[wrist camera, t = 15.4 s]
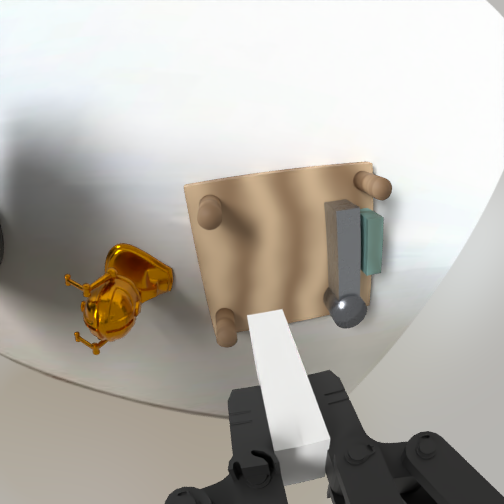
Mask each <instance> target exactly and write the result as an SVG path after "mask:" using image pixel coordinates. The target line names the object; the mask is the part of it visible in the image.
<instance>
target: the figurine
mask: <svg viewBox="0 0 504 504" xmlns="http://www.w3.org/2000/svg"><path fill="white" fill-rule="evenodd" d="M70 278H71V276H70V274H66V275H65V281H66V282H65V284H66V285H67V286H70V285H73V286H74V287H76V288H78V289H80V290H81V291H83V296H84V297H87V299H86V301H82V303H81V311H82V312H83V318H84V322H85V324H86V326H87V327H88V328H89V330H90V332H91V333H92V334H93V335H94V336H96V337H97V338H98V339H99V340H101V341H100V342H99V343H92V344H91V343H89V342H88V341H86V340H85V339H83V338H82V337H81V336H80V333H79V332H75V333H74V335H75V340H76V342H82V343H83V344H85V345H86V346H88V347H89V348H91V349H92V350H93V354H95V355H98V354H99V353H100V350H99V348H101V347H102V346H103V345H104V344H106V343H107V342H108V341H109V342H113V341H115V340H117V339H121V338H123V337H124V336H126V335H127V334H128V333H129V331H130V330H131V329H132V327H133V326H134V324H135V321H136V316H137V315H138V314H139V313H140V312H141V305H142V303H144V302H145V301H147V300H149V299H152V298H154V297H156V296H158V295H161V294H163V293H166V292H168V291H171V289H172V285H173V271H172V268H170V267H169V266H167V265H165V264H164V263H162V262H160V261H159V260H157V259H156V258H154V257H153V256H151V255H149V254H148V253H146V252H144V251H143V250H141V249H139V248H137V247H135V246H132V245H130V244H125V243H120V244H117V245H115V246H113V247H112V248H111V250H110V251H109V253H108V255H107V258H106V263H105V273H104V275H103V276H101V277H99V278H98V279H97V280H96V281H94V282H93V283H92V284H88V283H85V284H83V285H81V284H79V283H77V282H75V281H73V280H72V279H70Z"/></svg>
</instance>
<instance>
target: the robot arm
mask: <svg viewBox="0 0 504 504" xmlns="http://www.w3.org/2000/svg"><path fill="white" fill-rule="evenodd" d="M2 256H3V236H2V230H1V226H0V264H1V261H2ZM247 319H248V325H249V331H250V337H251V343H252V349H253V355H254V360H255V366H256V371H257V376H258V381H259V386H254V387H248V388H242V389H235V390H232V392H231V395H230V397H229V399H228V411H229V421H230V431H231V441H232V450H233V457H232V458H231V460H230V461H229V466H228V471H229V475H228V476H227V477H226V478H224V479H223V480H222V481H220V482H218V483H216V484H214V485H211V486H208V487H205V488H202V489H198V488H195V487H182V488H179V489H176V490H175V491H173V492H172V493H171V494H169V496H168V498H167V500H166V501H165V504H288V502H287V497H286V493H285V489H284V486H286V485H291V484H296V483H301V482H305V481H309V480H314V479H317V478H322V477H324V476H325V473H326V475H327V478H328V481H329V486H328V491H327V498H330V497H331V499H332V502H333V504H504V497H503V496H502V495H501V494H500V493H499V492H498V491H497V490H496V489H495V488H494V487H493V486H492V485H491V484H490V483H489V482H488V481H487V480H486V479H485V478H483V476H481V475H480V474H479V473H478V472H477V471H476V470H475V469H474V468H473V467H472V466H471V465H470V464H469V463H468V462H467V461H466V460H465V459H464V458H463V457H462V456H461V455H460V454H459V453H458V452H457V451H455V449H454V448H452V447H451V446H450V445H449V444H448V443H447V442H446V441H445V440H444V439H443V438H442V437H441V436H439V435H438V434H436V433H433V432H429V431H427V432H420V433H418V434H416V435H414V436H413V437H412V438H411V439H410V440H409V441H408V442H400V443H380V442H377V441H375V440H373V439H371V438H370V437H369V436H368V435H366V433H365V431H364V430H363V427H362V425H361V423H360V421H359V419H358V417H357V414H356V412H355V410H354V408H353V406H352V404H351V401H350V400H349V397H348V395H347V393H346V391H345V389H344V387H343V384H342V382H341V380H340V378H339V377H337V376H336V375H335V374H334V373H333V372H331V371H330V370H327V371H323V372H319V373H315V374H311V375H307V374H306V371H305V369H304V366H303V363H302V360H301V358H300V355H299V352H298V350H297V347H296V344H295V342H294V339H293V336H292V334H291V331H290V328H289V326H288V323H287V320H286V318H285V315H284V312H283V310H282V309H280V310H275V311H269V312H264V313H258V314H252V315H247Z"/></svg>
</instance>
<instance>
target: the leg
mask: <svg viewBox="0 0 504 504" xmlns="http://www.w3.org/2000/svg"><path fill="white" fill-rule="evenodd" d="M324 208H325V222H326V239H327V259H328V286H329V287H328V288H327V290H326V291H325V293H324V296H323V302H324V304H325V306H326V308H327V309H328V311H329V313H330V315H331V316H332V318H333V320H334V321H335V323H336V325H337V326H339V327H341V328H351V327H354V326H356V325H357V324H359V323H360V322H361V321H362V320H363V319H364V317H365V315H366V312H367V306H366V303H365V302H364V301H363V299H362V298H361V297H360V271H361V230H360V207H358V206H357V205H355V204H353V203H352V202H350V201H348V200H347V199H344V200H337V201H330V202H324Z"/></svg>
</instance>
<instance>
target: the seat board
mask: <svg viewBox="0 0 504 504" xmlns="http://www.w3.org/2000/svg"><path fill="white" fill-rule="evenodd" d="M184 192H185V197H186V202H187V208H188V213H189V218H190V223H191V228H192V233H193V238H194V243H195V248H196V253H197V258H198V262H199V267H200V272H201V276H202V281H203V285H204V290H205V294H206V298H207V303H208V307H209V311H210V315H211V320H212V324H213V328H214V332H215V336H216V340H217V343H218V344H219V345H220V346H222V347H232V346H233V345H235V344H236V342H237V333H236V332H242V331H248V330H249V325H248V319H247V315H252V314H258V313H264V312H269V311H275V310H280V309H282V310H283V312H284V315H285V318H286V320H287V323H292V322H297V321H302V320H307V319H312V318H316V317H321V316H326V315H330V313H329V311H328V309H327V308H326V306H325V304H324V302H323V296H324V293H325V291H326V290H327V288H328V287H329V286H328V259H327V239H326V222H325V208H324V202H330V201H337V200H344V199H347V200H348V201H350V202H352V203H353V204H355V205H357V206H358V207H360V230H361V271H360V297H361V298H362V299H363V301H364V302H365V303H366V306H369V303H370V290H371V275H373V274H377V273H381V265H382V247H383V217H382V216H380V215H379V214H377V213H375V212H374V211H373V197H374V198H376V199H378V200H385V199H387V198H388V197H389V196H390V194H391V192H392V185H391V183H390V181H389V180H387V179H385V178H383V177H380V176H377V175H374V174H373V168H372V163H369V162H356V163H344V164H332V165H322V166H312V167H303V168H294V169H285V170H277V171H269V172H262V173H255V174H248V175H241V176H234V177H227V178H221V179H215V180H209V181H203V182H197V183H191V184H186V185H184Z"/></svg>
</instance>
